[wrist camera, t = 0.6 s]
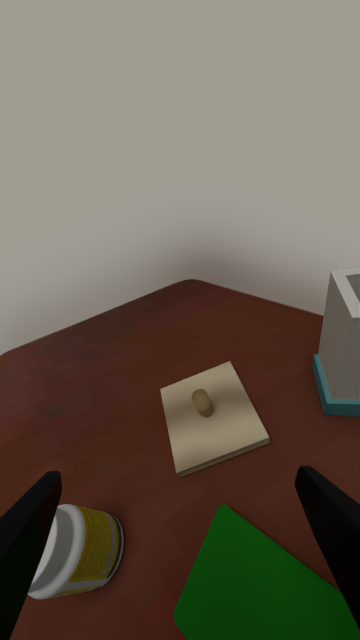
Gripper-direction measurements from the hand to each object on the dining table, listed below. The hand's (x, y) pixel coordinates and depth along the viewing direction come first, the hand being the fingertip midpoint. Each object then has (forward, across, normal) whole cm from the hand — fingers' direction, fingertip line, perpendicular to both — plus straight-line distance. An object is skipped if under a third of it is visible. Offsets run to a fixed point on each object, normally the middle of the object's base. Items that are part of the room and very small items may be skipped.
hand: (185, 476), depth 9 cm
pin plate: (+14, -5, +9) cm, 17 cm away
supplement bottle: (+8, +5, +17) cm, 20 cm away
